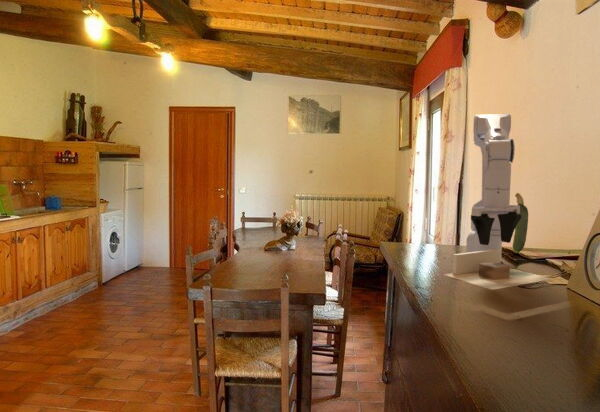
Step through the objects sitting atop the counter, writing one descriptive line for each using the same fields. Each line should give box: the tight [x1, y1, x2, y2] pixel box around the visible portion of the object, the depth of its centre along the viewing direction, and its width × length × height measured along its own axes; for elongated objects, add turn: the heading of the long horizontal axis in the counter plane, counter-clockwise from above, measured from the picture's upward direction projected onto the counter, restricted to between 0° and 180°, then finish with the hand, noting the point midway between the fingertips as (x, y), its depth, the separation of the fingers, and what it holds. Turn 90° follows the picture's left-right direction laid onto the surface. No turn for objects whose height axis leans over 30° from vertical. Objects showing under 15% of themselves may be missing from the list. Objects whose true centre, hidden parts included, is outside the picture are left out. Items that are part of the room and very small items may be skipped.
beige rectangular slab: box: [452, 249, 502, 274], centre depth 111 cm, size 1×16×5 cm, turn 115°
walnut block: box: [479, 262, 511, 280], centre depth 105 cm, size 5×5×3 cm
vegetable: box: [512, 192, 529, 254], centre depth 136 cm, size 4×4×20 cm
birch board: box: [443, 267, 553, 291], centre depth 105 cm, size 15×21×1 cm
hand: (495, 243), depth 105 cm, fingers open, 7 cm apart
